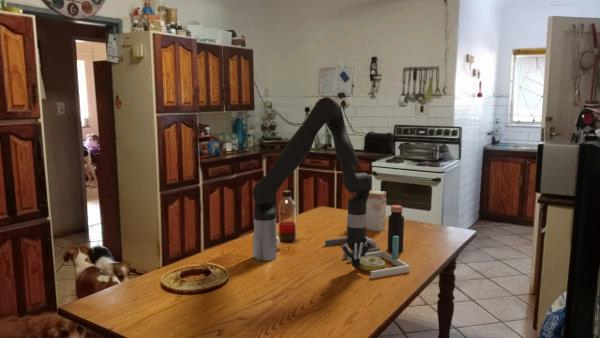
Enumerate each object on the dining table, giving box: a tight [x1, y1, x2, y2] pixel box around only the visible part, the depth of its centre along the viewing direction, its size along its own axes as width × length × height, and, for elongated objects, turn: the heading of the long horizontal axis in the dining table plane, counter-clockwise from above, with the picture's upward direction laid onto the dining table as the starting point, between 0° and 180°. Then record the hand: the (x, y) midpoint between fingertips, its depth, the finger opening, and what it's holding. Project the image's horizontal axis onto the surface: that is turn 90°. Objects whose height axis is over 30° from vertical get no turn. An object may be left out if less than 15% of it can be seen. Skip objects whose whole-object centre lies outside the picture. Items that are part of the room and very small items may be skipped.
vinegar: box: [387, 204, 405, 253], centre depth 202 cm, size 7×7×20 cm
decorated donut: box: [358, 257, 387, 273], centre depth 183 cm, size 10×11×4 cm
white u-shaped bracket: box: [347, 236, 411, 279], centre depth 183 cm, size 18×19×12 cm
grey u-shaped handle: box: [324, 236, 381, 260], centre depth 204 cm, size 18×19×4 cm
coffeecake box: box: [353, 189, 387, 233], centre depth 236 cm, size 15×7×20 cm, turn 58°
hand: (355, 267), depth 180 cm, fingers closed
